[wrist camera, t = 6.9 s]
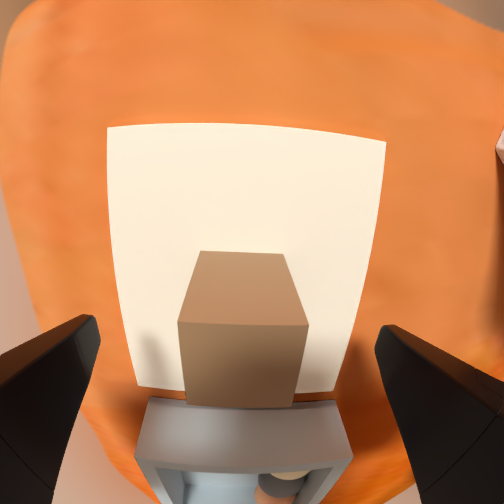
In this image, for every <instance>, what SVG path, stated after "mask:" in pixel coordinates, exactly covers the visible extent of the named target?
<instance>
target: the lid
mask: <svg viewBox="0 0 504 504" xmlns="http://www.w3.org/2000/svg"><path fill="white" fill-rule="evenodd" d="M385 150H386V142H383V141H378V140H373V139H368V138H362V137H356V136H350V135H344V134H338V133H331V132H324V131H316V130H308V129H299V128H289V127H278V126H266V125H250V124H226V123H170V124H147V125H132V126H120V127H109V128H108V129H107V185H108V206H109V221H110V233H111V243H112V252H113V261H114V269H115V276H116V283H117V289H118V296H119V302H120V307H121V313H122V318H123V323H124V328H125V333H126V338H127V342H128V347H129V351H130V355H131V359H132V363H133V367H134V371H135V375H136V379H137V383H138V386H144V387H151V388H159V389H168V390H178V391H185V395H186V402H187V405H195V406H210V407H234V408H276V407H292V403H293V398H294V394H295V393H313V392H326V391H333V389H334V386H335V383H336V380H337V377H338V374H339V371H340V368H341V365H342V362H343V359H344V356H345V352H346V349H347V346H348V342H349V339H350V335H351V332H352V328H353V325H354V321H355V317H356V314H357V310H358V306H359V302H360V298H361V294H362V290H363V285H364V281H365V277H366V272H367V267H368V263H369V258H370V253H371V248H372V243H373V237H374V232H375V226H376V220H377V214H378V207H379V200H380V193H381V186H382V178H383V169H384V160H385Z"/></svg>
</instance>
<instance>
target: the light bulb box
mask: <svg viewBox="0 0 504 504" xmlns="http://www.w3.org/2000/svg"><path fill="white" fill-rule="evenodd" d="M495 149H496V152H497V154H498V156H499V158H500V159H501V161H502V163H503V164H504V129H503V131H502V133H501V136H500V138H499V140H498V142H497V144H496V147H495Z"/></svg>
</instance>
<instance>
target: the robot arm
mask: <svg viewBox="0 0 504 504" xmlns="http://www.w3.org/2000/svg"><path fill="white" fill-rule="evenodd" d="M100 341H101V339H100V334H99V330H98V326H97V321H96V318H95V317H94V316H93V315H87V314H82V315H80V316H78V317H75V318H73V319H71V320H69V321H67V322H65V323H63V324H61V325H59V326H57V327H55V328H53V329H51V330H49V331H47V332H45V333H43V334H41V335H39V336H37V337H35V338H33V339H31V340H29V341H27V342H25V343H23V344H21V345H19V346H17V347H15V348H13V349H11V350H9V351H7V352H5V353H4V354H1V356H0V504H51V503H52V499H53V495H54V490H55V486H56V482H57V478H58V474H59V470H60V467H61V464H62V460H63V457H64V454H65V450H66V447H67V444H68V441H69V438H70V434H71V431H72V428H73V426H74V422H75V420H76V417H77V414H78V411H79V408H80V406H81V403H82V400H83V398H84V395H85V392H86V390H87V387H88V384H89V381H90V378H91V374H92V371H93V367H94V363H95V360H96V356H97V353H98V350H99V346H100ZM375 355H376V359H377V362H378V366H379V370H380V374H381V377H382V381H383V385H384V388H385V391H386V394H387V397H388V400H389V403H390V405H391V408H392V411H393V413H394V416H395V419H396V422H397V425H398V428H399V431H400V433H401V436H402V439H403V442H404V445H405V448H406V451H407V455H408V458H409V461H410V464H411V467H412V471H413V474H414V477H415V481H416V484H417V487H418V491H419V494H420V499H421V503H422V504H504V382H502V381H500V380H498V379H496V378H494V377H492V376H490V375H488V374H486V373H484V372H482V371H480V370H479V369H477V368H474V367H473V366H471V365H469V364H467V363H465V362H463V361H462V360H460V359H458V358H456V357H454V356H452V355H450V354H449V353H447V352H445V351H443V350H441V349H439V348H437V347H435V346H433V345H432V344H430V343H428V342H426V341H424V340H422V339H420V338H418V337H417V336H415V335H413V334H411V333H409V332H407V331H405V330H403V329H402V328H400V327H398V326H396V325H384V326H382V327H381V329H380V332H379V335H378V338H377V341H376V344H375Z"/></svg>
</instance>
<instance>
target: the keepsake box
mask: <svg viewBox="0 0 504 504" xmlns="http://www.w3.org/2000/svg"><path fill="white" fill-rule="evenodd" d="M134 457H135V459H136V461H137V463H138V465H139V467H140V469H141V470H142V472H143V474H144V476H145V478H146V479H147V481H148V483H149V484H150V486H151V488H152V489H153V491H154V493H155V494H156V496H157V497H158V499H159V501H160V502H161V504H257V502H256V500H255V496H254V493H255V489H256V487H257V485H258V484H259V483H258V475H259V474H266V473H285V472H297V471H307V470H310V472H308V473H307V474H306V475H305V482H304V485H303V487H302V488H301V490H300V491H299V492H297V493H296V497H295V500H294V502H293V503H292V504H319V503H320V502H321V501H322V499H323V498H324V497H325V496H326V494H327V493H328V492H329V491H330V489H331V488H332V487H333V485H334V484H335V483H336V481H337V480H338V479H339V477H340V476H341V475H342V473H343V472H344V471H345V469H346V468H347V466H348V465H349V463H350V462H351V461H352V459H353V458H354V456H353V453H352V450H351V447H350V444H349V440H348V437H347V434H346V431H345V428H344V425H343V422H342V419H341V416H340V413H339V410H338V407H337V404H336V401H335V400H324V401H311V402H294V403H292V407H276V408H234V407H210V406H195V405H187V402H186V400H176V399H166V398H158V397H149V401H148V404H147V408H146V412H145V415H144V419H143V423H142V427H141V431H140V434H139V438H138V442H137V446H136V450H135V454H134Z"/></svg>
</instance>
